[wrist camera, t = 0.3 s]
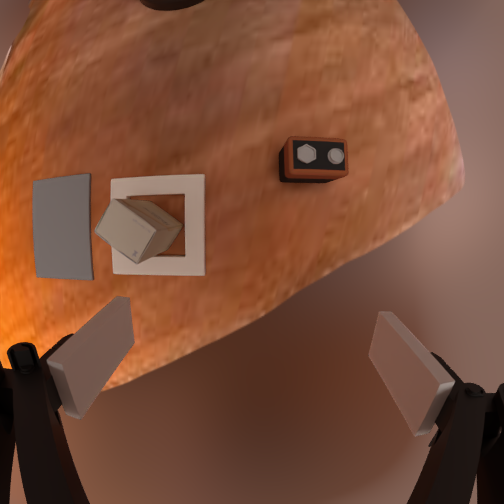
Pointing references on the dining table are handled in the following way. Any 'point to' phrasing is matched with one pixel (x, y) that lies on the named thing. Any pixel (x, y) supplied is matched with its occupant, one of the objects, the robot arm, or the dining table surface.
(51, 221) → the grey mat
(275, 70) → the dining table surface
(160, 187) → the white square frame
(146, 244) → the skincare box
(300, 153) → the battery
